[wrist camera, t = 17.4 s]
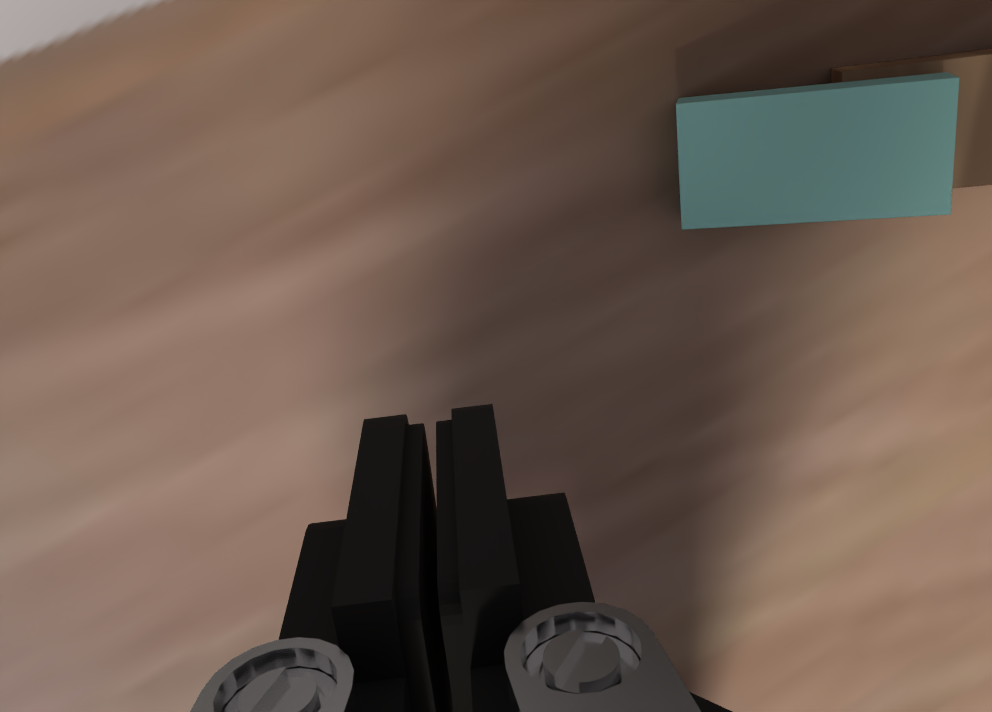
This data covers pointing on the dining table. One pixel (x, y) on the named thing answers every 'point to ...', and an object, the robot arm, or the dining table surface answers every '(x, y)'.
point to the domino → (980, 113)
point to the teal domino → (818, 152)
